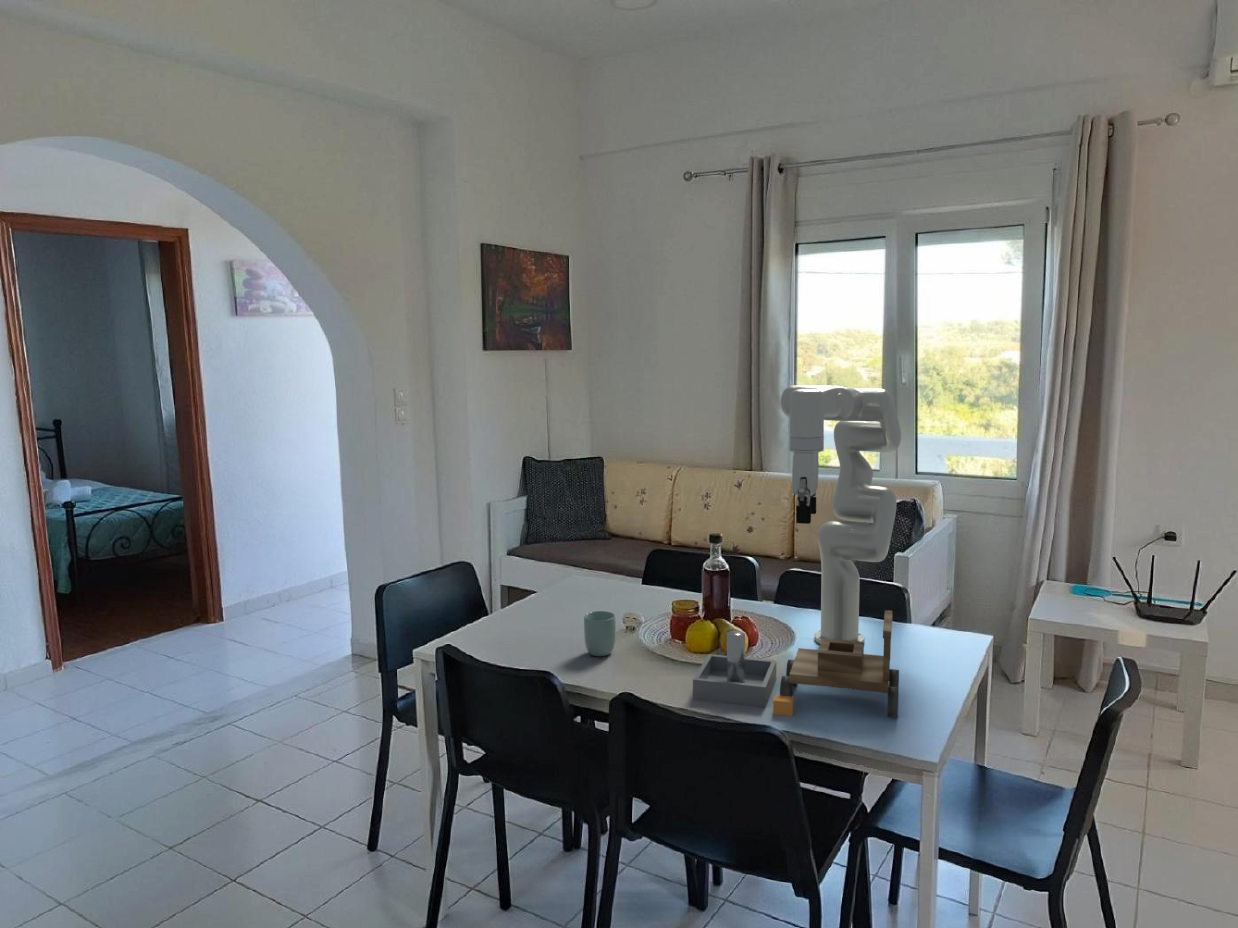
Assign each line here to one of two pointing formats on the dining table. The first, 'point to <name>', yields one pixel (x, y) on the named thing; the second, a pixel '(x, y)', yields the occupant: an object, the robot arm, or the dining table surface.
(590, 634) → the cup
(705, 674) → the tray
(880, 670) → the trolley
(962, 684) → the dining table surface
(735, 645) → the pin
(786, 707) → the orange block
